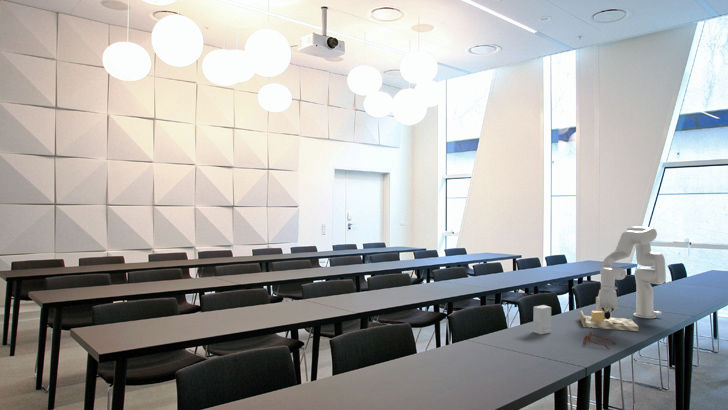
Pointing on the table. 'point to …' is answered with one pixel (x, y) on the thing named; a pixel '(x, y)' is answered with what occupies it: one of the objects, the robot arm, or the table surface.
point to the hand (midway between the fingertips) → (607, 318)
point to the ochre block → (597, 316)
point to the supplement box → (601, 309)
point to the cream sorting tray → (609, 323)
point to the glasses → (595, 342)
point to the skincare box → (542, 319)
